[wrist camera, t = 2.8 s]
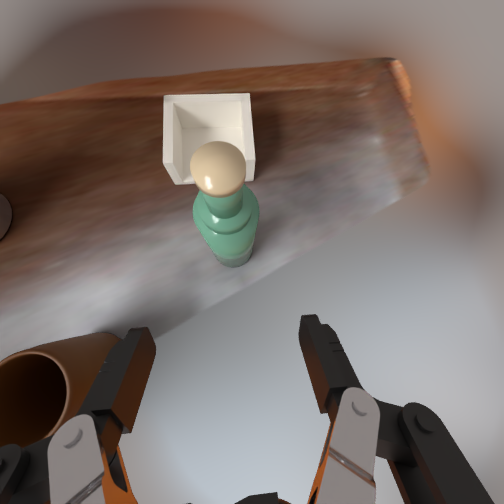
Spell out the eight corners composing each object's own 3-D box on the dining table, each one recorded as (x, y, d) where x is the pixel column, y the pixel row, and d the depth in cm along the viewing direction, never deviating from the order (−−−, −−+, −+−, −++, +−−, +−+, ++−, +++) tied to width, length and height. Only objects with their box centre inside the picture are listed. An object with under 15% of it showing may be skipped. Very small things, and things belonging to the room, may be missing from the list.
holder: (253, 181, 32) (255, 159, 27) (175, 184, 31) (162, 163, 26) (248, 122, 34) (249, 93, 29) (175, 125, 33) (163, 95, 28)
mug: (143, 429, 24) (84, 507, 15) (74, 452, 24) (-32, 549, 15) (127, 323, 27) (68, 335, 18) (63, 341, 26) (-33, 364, 17)
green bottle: (209, 261, 29) (152, 195, 11) (220, 226, 30) (187, 112, 12) (246, 272, 29) (252, 224, 11) (256, 236, 30) (278, 137, 12)
